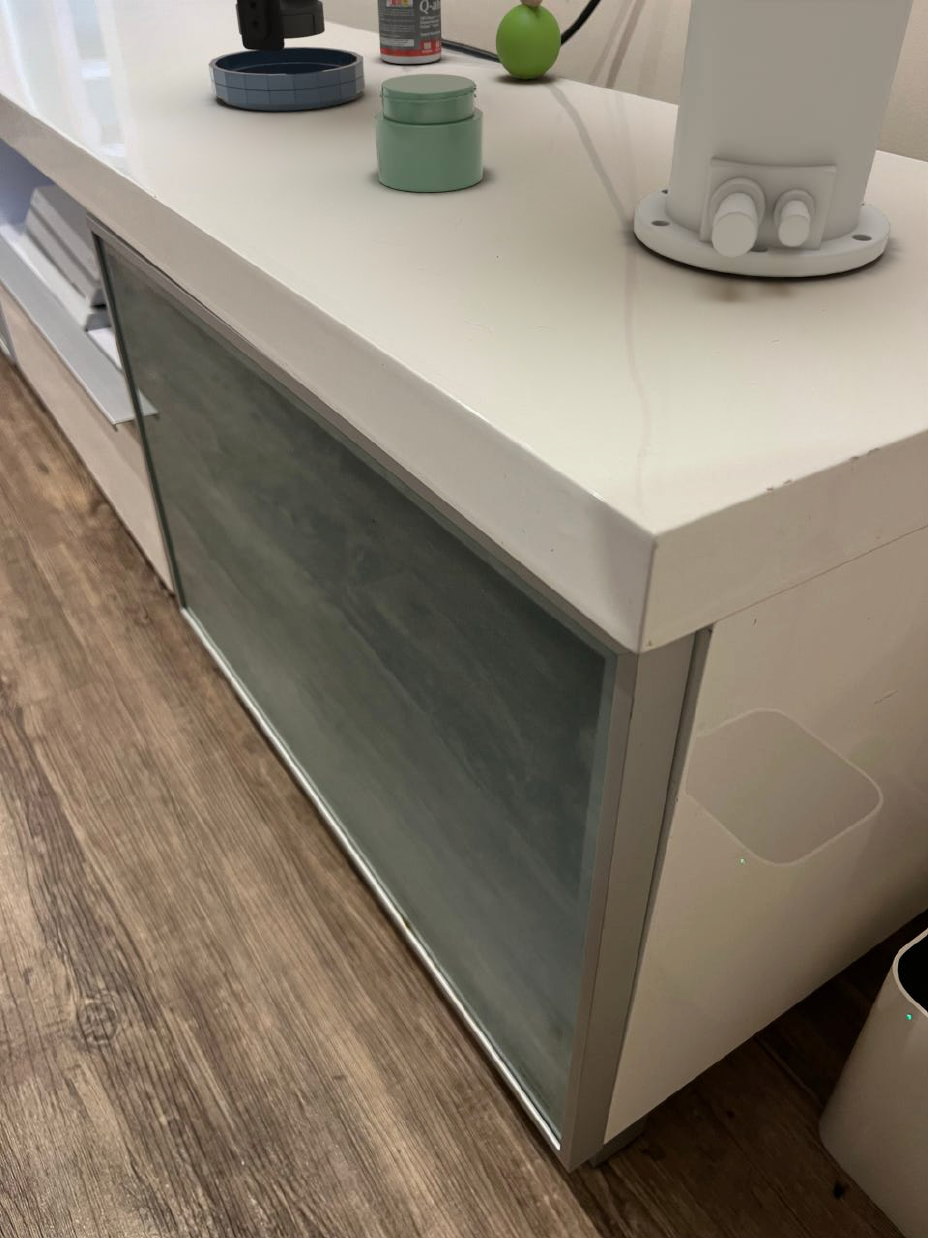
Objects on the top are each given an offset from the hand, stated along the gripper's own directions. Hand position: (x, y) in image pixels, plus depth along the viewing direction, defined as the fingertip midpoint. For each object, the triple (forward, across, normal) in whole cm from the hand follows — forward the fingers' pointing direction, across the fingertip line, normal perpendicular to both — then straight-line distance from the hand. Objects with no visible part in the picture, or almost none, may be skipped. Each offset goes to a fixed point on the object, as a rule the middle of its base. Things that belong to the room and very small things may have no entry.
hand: (283, 38), depth 74 cm
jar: (+4, +20, +18) cm, 27 cm away
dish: (+4, 0, 0) cm, 4 cm away
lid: (-2, 0, 0) cm, 2 cm away
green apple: (+4, -11, +17) cm, 21 cm away
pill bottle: (+4, -17, +5) cm, 18 cm away
